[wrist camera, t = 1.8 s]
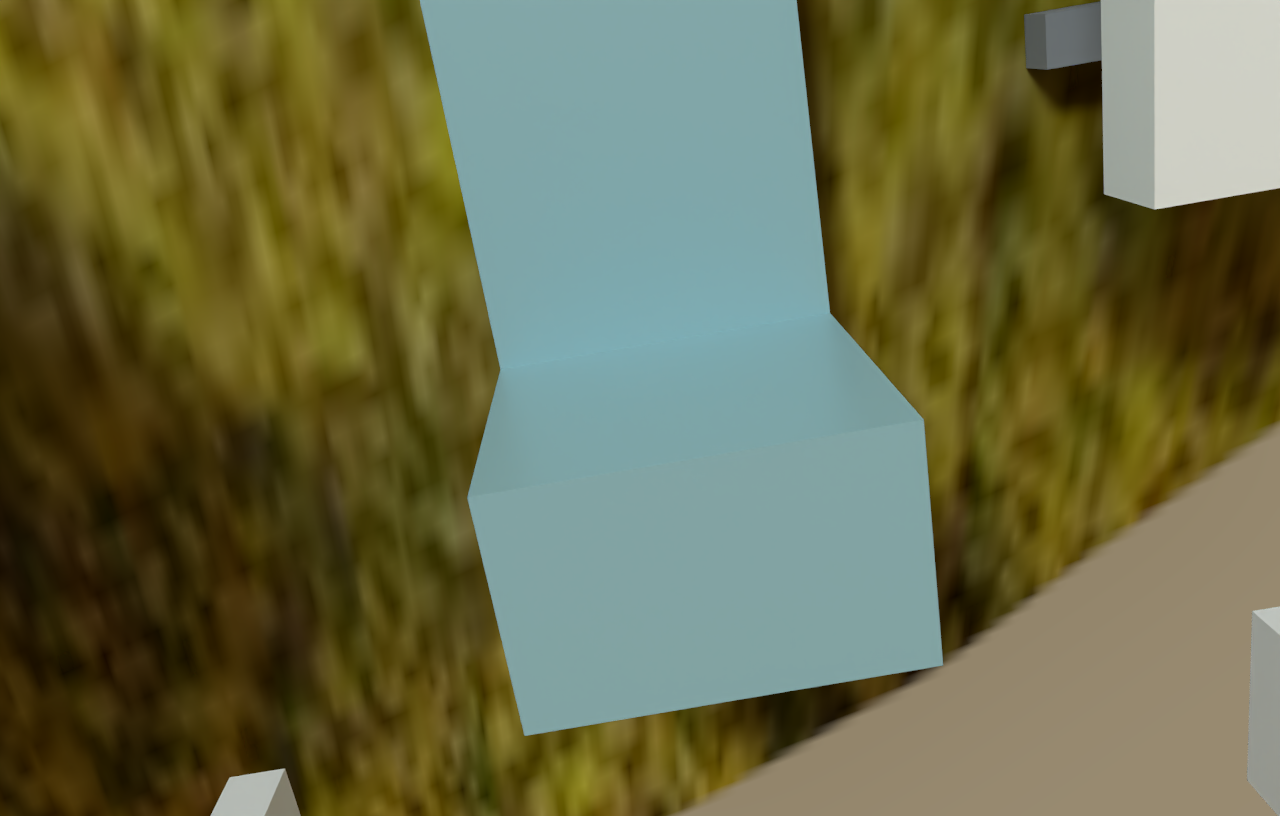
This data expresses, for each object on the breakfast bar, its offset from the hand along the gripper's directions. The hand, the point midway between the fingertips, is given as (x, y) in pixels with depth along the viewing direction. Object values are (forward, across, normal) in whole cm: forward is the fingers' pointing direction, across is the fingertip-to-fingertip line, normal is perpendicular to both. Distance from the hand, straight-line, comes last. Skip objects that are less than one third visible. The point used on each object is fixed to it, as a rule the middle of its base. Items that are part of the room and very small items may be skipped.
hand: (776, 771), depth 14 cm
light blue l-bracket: (+14, 0, +9) cm, 17 cm away
